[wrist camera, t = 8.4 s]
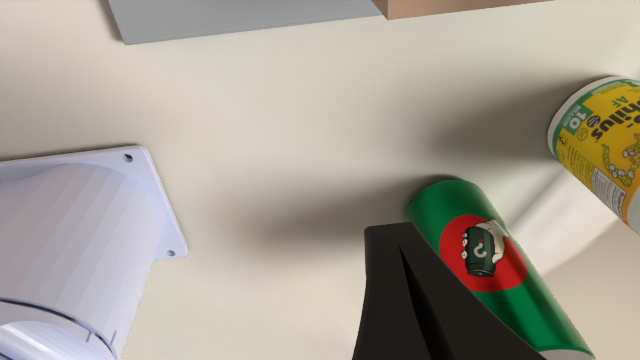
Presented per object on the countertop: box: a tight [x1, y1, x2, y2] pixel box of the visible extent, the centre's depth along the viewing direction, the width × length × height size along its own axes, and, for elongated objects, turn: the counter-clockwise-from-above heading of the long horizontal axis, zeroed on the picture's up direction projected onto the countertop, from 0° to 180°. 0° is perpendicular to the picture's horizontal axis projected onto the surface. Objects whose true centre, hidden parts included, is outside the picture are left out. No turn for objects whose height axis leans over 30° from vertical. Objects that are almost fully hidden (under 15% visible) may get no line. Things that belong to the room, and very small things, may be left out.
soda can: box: [404, 180, 596, 360], centre depth 20 cm, size 5×5×12 cm
